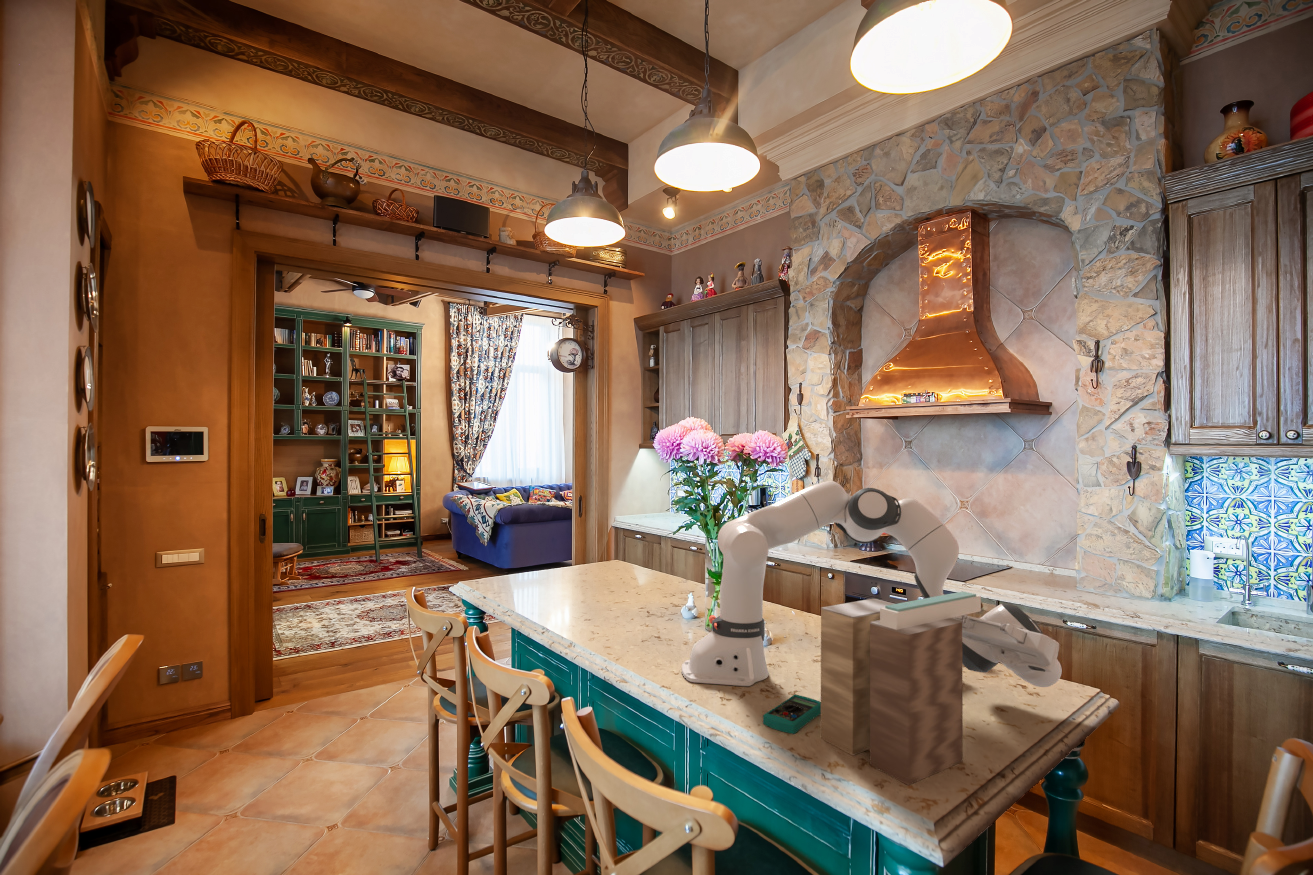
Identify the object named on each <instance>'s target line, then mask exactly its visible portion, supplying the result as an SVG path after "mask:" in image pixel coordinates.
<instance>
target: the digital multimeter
mask: <svg viewBox="0 0 1313 875" xmlns="http://www.w3.org/2000/svg"><path fill="white" fill-rule="evenodd" d="M819 716H821V700H820V701H819V700H816V699H814V698H811V697H808V696H807V697H806V696H804V695H799V694H792V696H790V697H789V698H787V699H786V700H785V701H783V702H781V703H780V704H778V705H777V706H775V707H773V708H771V709H770V710H769V711H767V712H766V713H764V714H763V715H762V717H763V718H762V721H763V722H762V724H763V725H764V726H767V727H769V728H771V729H773V730H776V731H779V732H782V733H786V734H792V735H795V734H797V732H799V731H800V730H801V729H802V728H803V727H804V726H805V725H807V724H808V723H811V721H812V720H814V719H815V718H817V717H819Z"/></svg>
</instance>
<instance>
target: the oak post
mask: <svg viewBox="0 0 1313 875" xmlns="http://www.w3.org/2000/svg"><path fill="white" fill-rule="evenodd" d="M893 604H895V603H894V602H890V601H886V600H882V599H878V598H868V599H863V600H857V601H851V602H846V603H840V604H834V605H829V606H823V607H822V606H821V607H820V702H821V714H820V739H821V740H823V741H826V742H827V743H828V744H830V745H833V746H835V747H836V748H838V749H840V750H842V751H843V752H845V753H848V754H849V755H851V756H854V755H857V754H859V753H860V754H861V753H863V752H865V751H868V750H870V622H872V621H877V620H880V608H885V606H887V605H893Z"/></svg>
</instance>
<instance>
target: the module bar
mask: <svg viewBox="0 0 1313 875" xmlns="http://www.w3.org/2000/svg"><path fill="white" fill-rule="evenodd" d="M981 611H982V596H981V595H978V594H976V593H971V592H967V591H958V592H952V593H947V594H946V593H945V594H943V595H941V596H936V597H930V598H925V599H924V598H921V599H915V600H910V601H905V602H899V603H894V604H893V605H887V606H885V608H880V625H882V626H885V627H889V628H892V629H895V630H898V629H903V628H907V627H912V626H916V625H921V624H925V623H930V622H934V621H939V620H943V619H948V618H952V617H957V616H961V615H970V614H974V613H978V612H981Z"/></svg>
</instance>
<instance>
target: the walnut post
mask: <svg viewBox="0 0 1313 875" xmlns="http://www.w3.org/2000/svg"><path fill="white" fill-rule="evenodd" d="M963 697H964V695H963V664H962V621H961V620H958V619H954V618H948V619H943V620H939V621H934V622H930V623H925V624H921V625H916V626H912V627H907V628H903V629H898V630H895V629H892V628H889V627H885V626H882V625H880V620H877V621H872V622H870V749H869V765H870V766H871V767H874V768H876V769H877V770H879V771H881V772H882V773H884V774H886V775H888V776H891V778H893V779H896V780H897V781H899V782H902V783H904V784H906V785H907V786H909V785H912V784H914V783H917V782H919V781H921V780H924V779H925V778H928V777H930V776H932V775H935V774H937V773H939V772H941V771H944V770H946V769H948V768H951V767H953V766H955V765H958V764H960V763H963V761H964V756H963V755H964V754H963V750H964V749H963V748H964V747H963V744H964V741H963V737H964V736H963V733H964V732H963V731H964V730H963V729H964V728H963V727H964V726H963V725H964V724H963V721H964V720H963V717H964V716H963V705H964V704H963Z"/></svg>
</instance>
